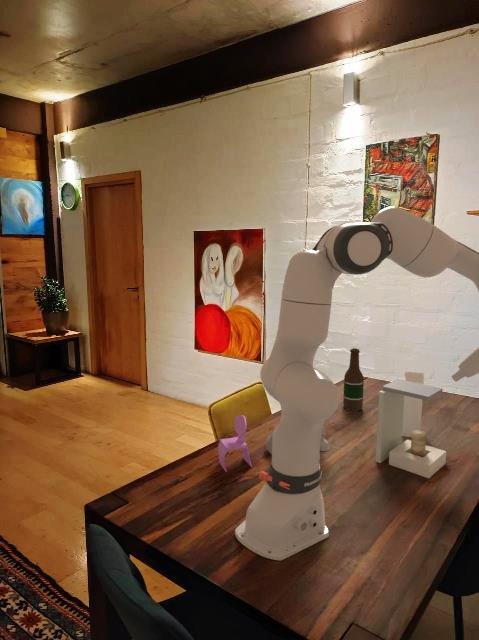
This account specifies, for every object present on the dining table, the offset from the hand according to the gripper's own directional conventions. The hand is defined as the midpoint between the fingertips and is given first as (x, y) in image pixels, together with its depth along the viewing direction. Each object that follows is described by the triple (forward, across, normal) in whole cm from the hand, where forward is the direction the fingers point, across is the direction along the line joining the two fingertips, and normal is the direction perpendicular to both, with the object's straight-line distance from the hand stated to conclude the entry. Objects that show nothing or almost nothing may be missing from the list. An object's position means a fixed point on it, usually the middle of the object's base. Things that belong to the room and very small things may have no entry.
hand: (461, 374), depth 121 cm
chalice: (+50, +4, -6) cm, 51 cm away
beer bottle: (+59, -35, -14) cm, 70 cm away
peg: (+31, -6, +14) cm, 34 cm away
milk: (+39, -26, +6) cm, 47 cm away
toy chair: (+59, +32, -14) cm, 68 cm away
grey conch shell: (+55, +14, -10) cm, 58 cm away
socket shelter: (+32, -6, +12) cm, 35 cm away
